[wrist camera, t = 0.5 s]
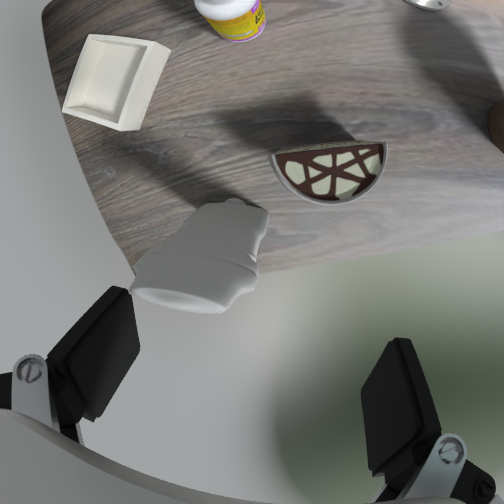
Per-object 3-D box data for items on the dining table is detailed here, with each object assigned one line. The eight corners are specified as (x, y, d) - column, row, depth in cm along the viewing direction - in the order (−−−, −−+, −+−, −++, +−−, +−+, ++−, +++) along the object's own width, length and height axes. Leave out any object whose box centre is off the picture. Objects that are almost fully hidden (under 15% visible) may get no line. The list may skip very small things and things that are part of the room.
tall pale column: (274, 202, 37) (250, 291, 17) (271, 230, 39) (245, 340, 19) (198, 194, 38) (104, 266, 18) (197, 222, 40) (114, 311, 20)
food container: (281, 195, 36) (276, 217, 27) (273, 149, 34) (265, 155, 25) (371, 184, 34) (396, 204, 25) (366, 139, 31) (392, 142, 22)
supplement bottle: (268, 41, 28) (254, 0, 16) (217, 46, 29) (181, 13, 17) (264, 2, 25) (250, -46, 14) (215, 8, 26) (182, -34, 15)
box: (107, 40, 29) (88, 34, 24) (171, 50, 29) (155, 41, 25) (81, 110, 34) (61, 111, 30) (139, 129, 35) (120, 131, 30)
